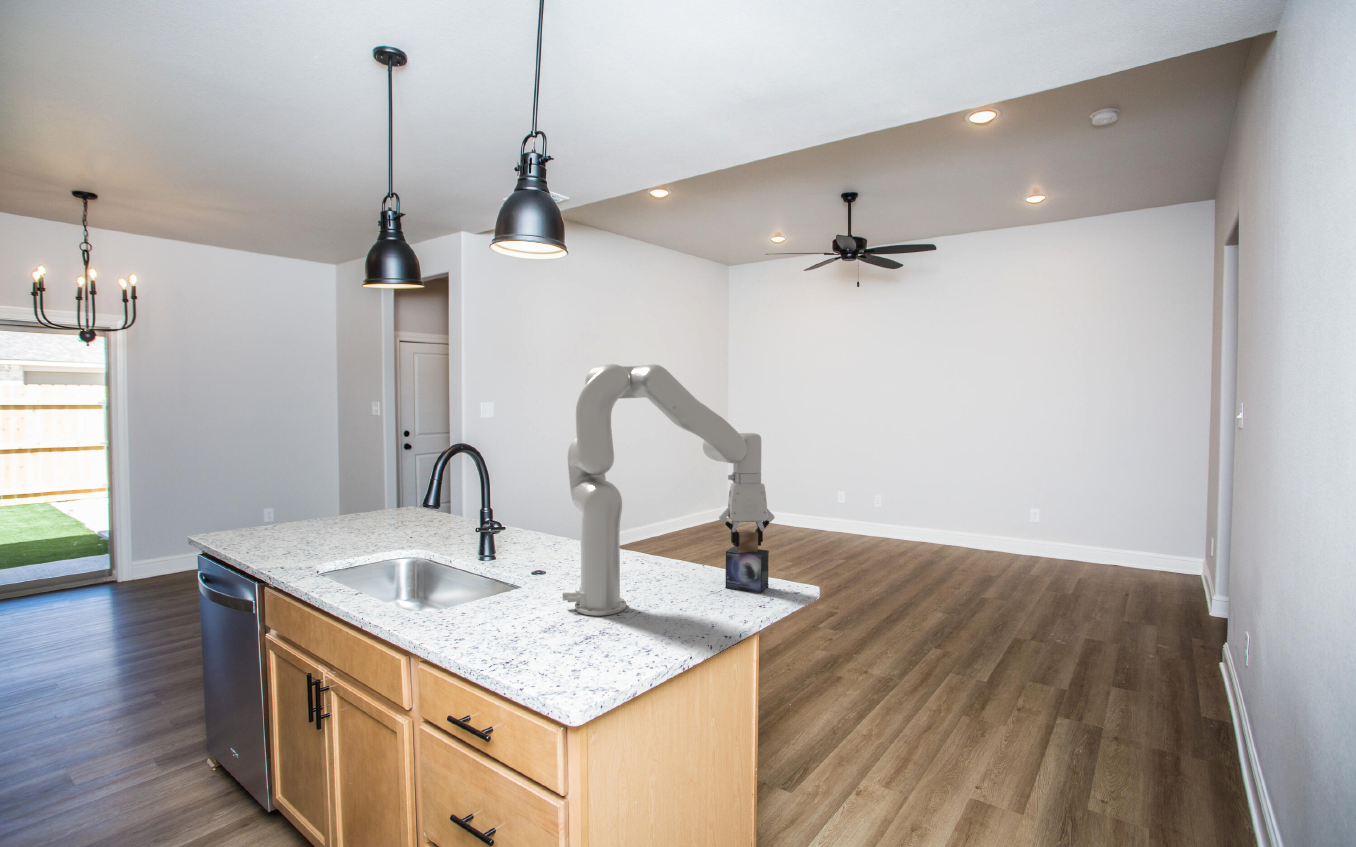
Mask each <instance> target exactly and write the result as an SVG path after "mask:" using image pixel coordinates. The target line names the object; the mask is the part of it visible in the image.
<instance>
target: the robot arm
mask: <svg viewBox="0 0 1356 847" xmlns="http://www.w3.org/2000/svg"><path fill="white" fill-rule="evenodd" d="M584 381H585V383H584V384H585V385H584V387H583V388H582V390H581V391H580V394H579V396H578V399H577V403H576V406H575V431H576V438H574V439H573V440H572V442H571V443H570V444H569V446H568V451H567V466H568V476H569V477H568V479H569V486H570V487H569V488H570V495H571V496H570V497H571V499H572V502H573V505H574V506H575V508H576V509H577V510H579V511H580V512H582V518H581V519H582V520H581V524H580V526H581V527H580V587H579V590H575V591H574V592H570V591H569V592H567V591H566V592H562V601H567V603H574V610H575V611H576V612H578V613H580V614H582V615H585V616H595V617H597V616H600V617H601V616H610V615H615V614H618V613H621V612H623V611H624V610H625V609H626V608H627V601H626V600H625V599H624V598H622V597H621V585H620V582H621V578H620V577H621V573H620V572H621V570H620V569H621V568H620V567H621V565H620V564H621V562H620V561H621V560H620V559H621V557H620V556H621V555H620V552H621V550H620V549H621V548H620V547H621V546H620V545H621V544H620V540H621V539H620V538H621V537H620V536H621V535H620V531H621V518H622V512H623V498H622V495H621V492H620V491H619V489H618V488H617V487H616V486H615V485H614V484H613V483H611V482H610V481H607V478H606V473H608V472H609V471H610V470H611V469H612V467H613V465H614V463H615V452H614V442H613V433H612V412H613V408H614V405H615V403H617V402H618V400H619V399H637V398H638V399H641V398H644V399H648V400H649V401H650V402H651V403H652V404H653V405H654V406H655V407H656V408H658V410H660V412H662V413H663V415H665V417H667V418H668V419H669V420H670V421H671V422H672V423H673V424H674V425H676V426H677V427H679V428H681V429H683V430H685V431H687V432H690V433H692V434H694V435H696V437H699V438H700V439H702V440H703V442H702V450H703V452H704V455H705V456H706V457H708V458H709V459H711V460H713V461H717V462H724V463H727V464H733V471H732V473H731V474H728V476H727V480H728V481H732V483H730V486H729V491H728V500H727V508H726V509H725V510H724V511H723V512H722V513H721V514H720V516H718V519H719V520H720V521H721V522H722V523H723V525H725V526H726V527H727V528H728V529H729V530H730V542H731V544H732V545H733V547H734V546H735V547H737V546H738V532H737V530H738V526H739V523H755V526H756V529H755V530H754V531H755V532H757V533H758V547H761V546H762V543H763V541H764V539H763V538H764V535H763V534H764V531H765V529H766V528H767V527H768V526H769V524H770V523H771V522H772V521H773V520H774V519H775V515H774V514H773V513H772V512H771V511H770V510H769V509H768V505H767V504H768V502H767V493H766V492H767V490H766V487H765V483H762V436H761V435H760V434H759V433H755V432H738V431H737V430H736V429H735V428H734V427H733V426H732V425H731V424H730V423H729V422H728V421H727V420H726V419H724V418H723V417H721V415H719V414H718V413H716V412H715V411H713V410H712V409H710V407H708V406H707V405H705V404H704V403H702V402H700V401H699V400H698V399H697V398H696V396H694V395H693V394H692V393H691V392H690V391H689V390H688V389H686V387H684V385H682V383H681V382H680V381H678V380H677V378H676V377H674V376H673V375H672V374H671V373H670V372H669V371H668V369H666V368H664V367H663V366H661V365H660V364H653V363H652V364H645V365H634V366H632V365H630V366H628V365H627V366H624V365H623V366H622V365H619V364H615V363H611V364H603V365H598V366H595V367H593V368H592V369H590V371H588V372H587V375H586V377H585V380H584ZM727 518H728V519H730V520H731V521H729V520H728V519H727Z"/></svg>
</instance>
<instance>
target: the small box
mask: <svg viewBox="0 0 1356 847" xmlns="http://www.w3.org/2000/svg"><path fill="white" fill-rule="evenodd" d="M769 553H770V550H768V549H759V548H758V552H745V553H740V552H739V551H738V550H736V549H735V546H734V545H733V546H732V547H731V548H729V549H727V550H726V551H725V589H730V590H736V591H743V592H749V593H755V594H763V593H764V592H765V591H766V590H768V589H769V555H770V554H769Z"/></svg>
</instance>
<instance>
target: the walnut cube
mask: <svg viewBox="0 0 1356 847" xmlns="http://www.w3.org/2000/svg"><path fill="white" fill-rule="evenodd" d="M737 532H738V546H737V547H735V549H736V550H738V551H739V552H740V553H745V552H758V549H759V546H758V533H757V532H755V530H754V529H737Z"/></svg>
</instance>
